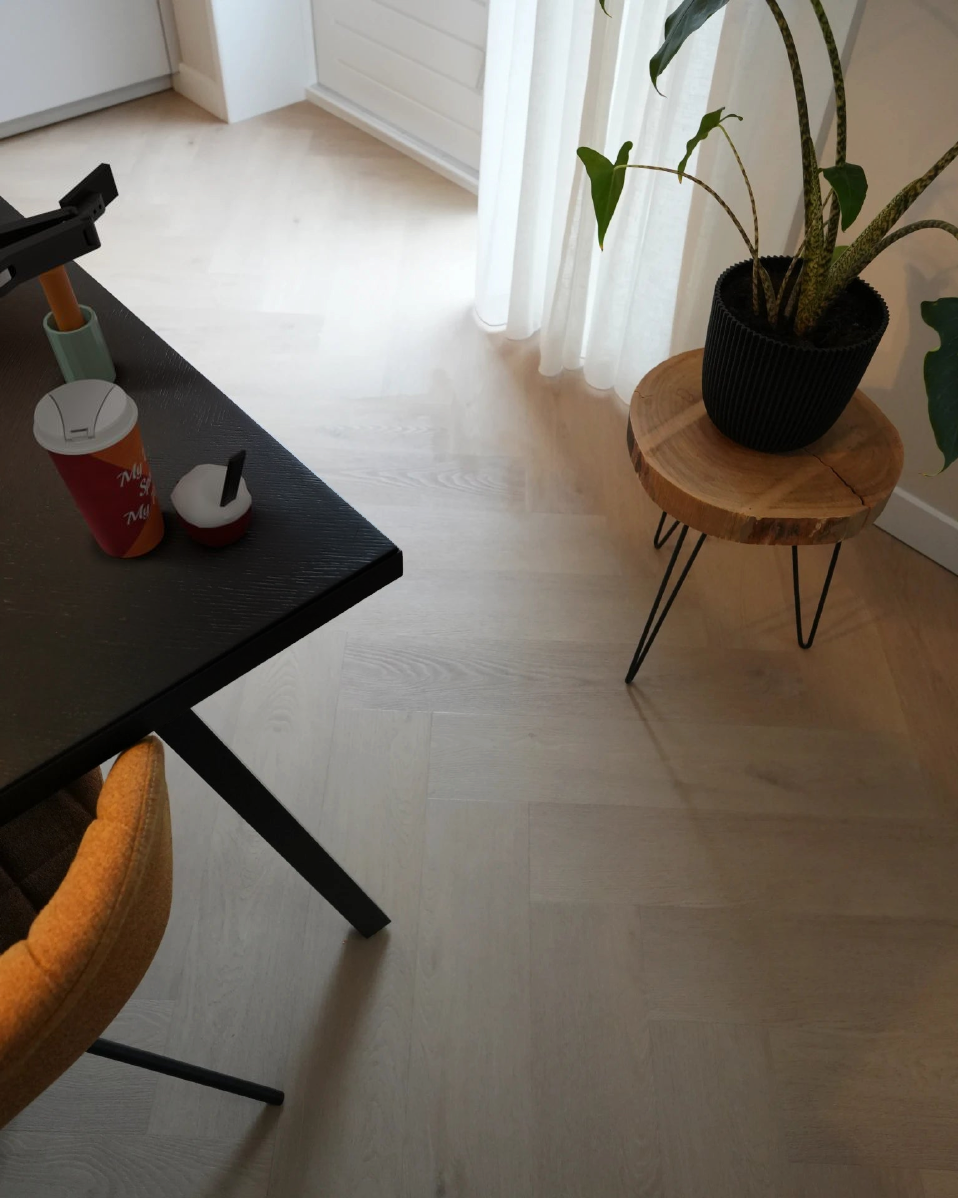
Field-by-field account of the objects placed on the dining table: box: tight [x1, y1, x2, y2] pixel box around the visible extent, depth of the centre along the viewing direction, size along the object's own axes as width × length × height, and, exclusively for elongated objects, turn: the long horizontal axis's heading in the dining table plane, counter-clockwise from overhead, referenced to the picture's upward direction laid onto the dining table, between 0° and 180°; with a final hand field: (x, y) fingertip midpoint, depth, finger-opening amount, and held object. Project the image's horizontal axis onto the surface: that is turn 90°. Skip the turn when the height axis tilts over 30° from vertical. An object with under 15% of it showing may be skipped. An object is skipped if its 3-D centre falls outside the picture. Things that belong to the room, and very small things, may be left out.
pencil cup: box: [42, 303, 117, 384], centre depth 94 cm, size 5×5×7 cm
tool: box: [37, 264, 86, 332], centre depth 91 cm, size 2×2×14 cm
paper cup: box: [32, 379, 165, 559], centre depth 78 cm, size 8×8×14 cm
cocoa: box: [169, 449, 253, 548], centre depth 79 cm, size 10×6×12 cm, turn 28°
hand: (40, 165), depth 83 cm, fingers open, 13 cm apart
